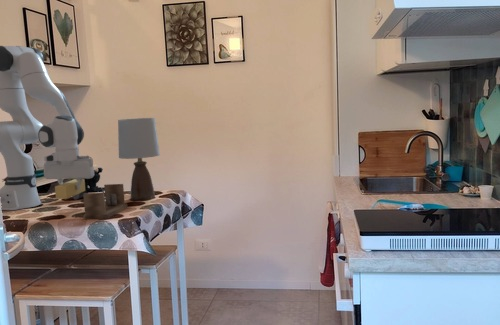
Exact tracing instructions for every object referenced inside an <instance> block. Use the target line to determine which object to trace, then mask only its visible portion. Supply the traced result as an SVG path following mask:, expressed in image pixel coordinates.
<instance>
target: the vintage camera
mask: <svg viewBox="0 0 500 325" xmlns="http://www.w3.org/2000/svg"><path fill="white" fill-rule="evenodd" d="M103 170H104V168H102V167H97V170H95V169H94V174H95V175H94V177H93V178H90V179H84V180H85V191H84V192H81V193H79V194H77V195H74V196H72V197H71V198H72V199H73V200H79V199H81V198H82V199H83V198H84V197H83V194H84V193H104V194H105V188H104V187H102V186H101V187H99V185H97V183H99V182H100V179H101V174H100V173H102V172H103ZM71 180H74V179H70V181H71ZM104 197H105V195H104Z"/></svg>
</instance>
